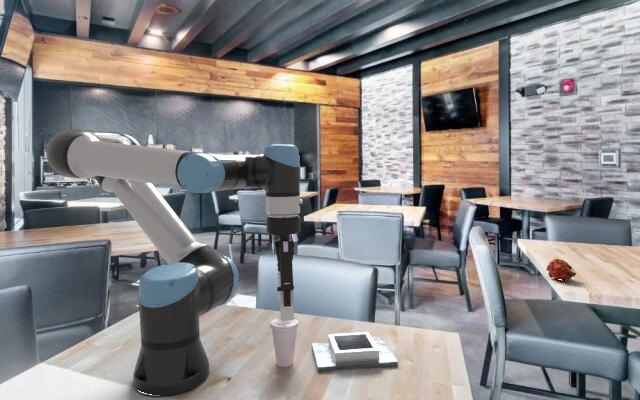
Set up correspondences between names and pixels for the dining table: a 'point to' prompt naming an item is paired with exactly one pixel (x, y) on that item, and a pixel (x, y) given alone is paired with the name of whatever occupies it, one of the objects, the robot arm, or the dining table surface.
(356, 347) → the collar
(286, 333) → the smoothie
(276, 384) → the dining table surface
